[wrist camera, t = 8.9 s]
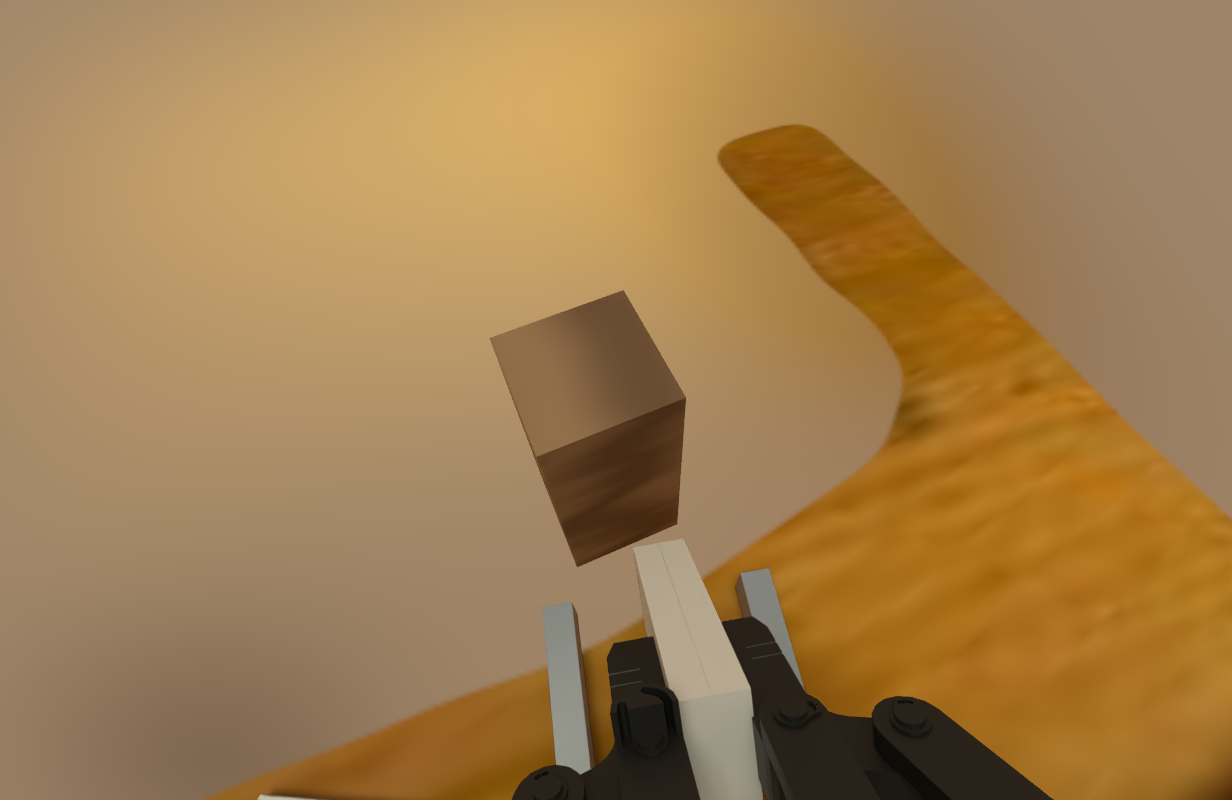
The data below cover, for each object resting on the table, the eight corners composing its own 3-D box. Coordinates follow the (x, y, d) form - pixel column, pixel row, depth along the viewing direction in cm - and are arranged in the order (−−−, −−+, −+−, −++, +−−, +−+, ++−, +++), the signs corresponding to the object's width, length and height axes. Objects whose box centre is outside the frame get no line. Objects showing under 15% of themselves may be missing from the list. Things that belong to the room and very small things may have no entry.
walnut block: (577, 567, 28) (536, 456, 19) (541, 475, 30) (489, 337, 21) (676, 524, 29) (685, 397, 19) (633, 438, 31) (623, 290, 22)
